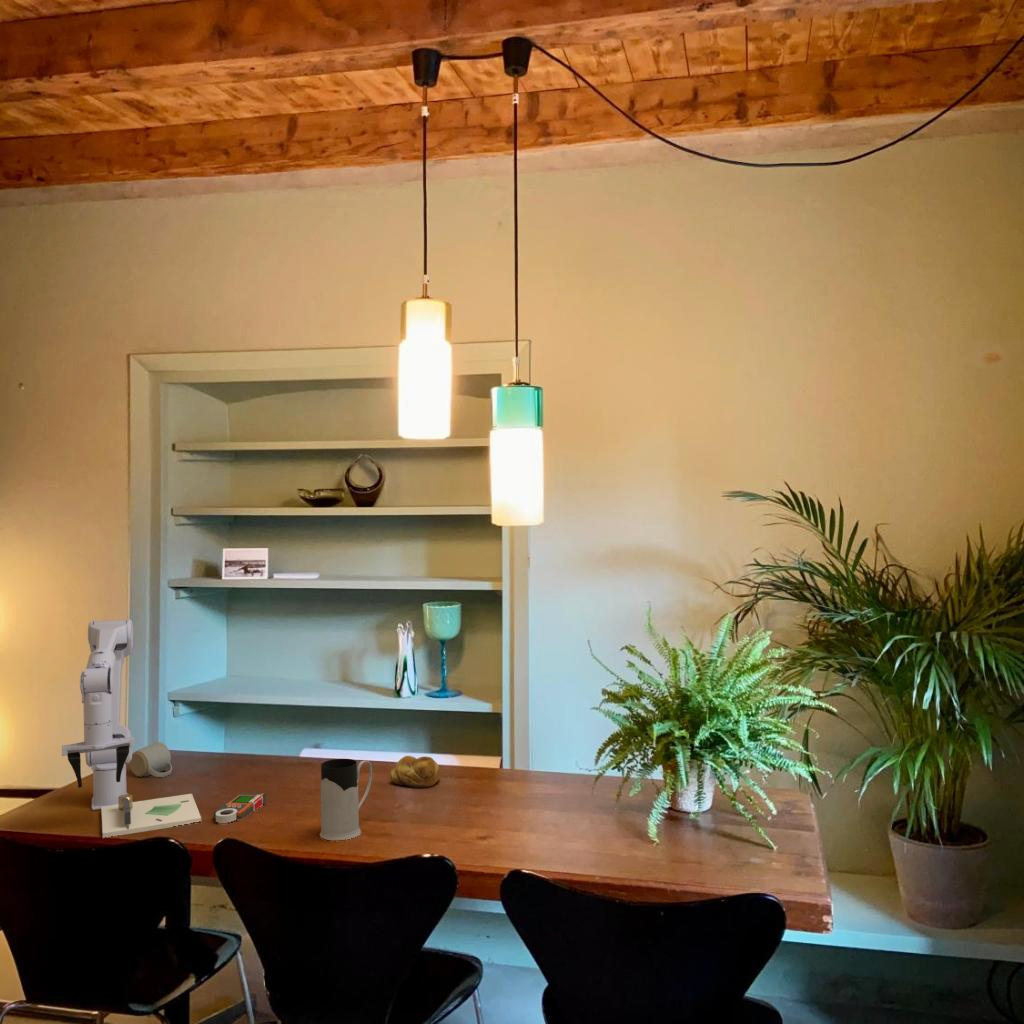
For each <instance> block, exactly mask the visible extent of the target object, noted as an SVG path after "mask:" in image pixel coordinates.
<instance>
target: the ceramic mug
mask: <svg viewBox="0 0 1024 1024" xmlns="http://www.w3.org/2000/svg"><path fill="white" fill-rule="evenodd" d="M171 761H172V755H171V751H170V749H169V748H168V746H167V745H166V744H165V743H163V742H161V741H159V742H154V743H152V744H149V745H146V746H145V747H141V748H139V749H137V750H136V751H134V752H132V759H131V761H130V762H129V763H128V764H129V768H130V771H131V772H132V774H134V775H135V776H136V777H138V776H139V777H138V778H143V776H144V777H148V776H150V775H151V776H153V777H155V778H158V777H163V778H165V777H164V776H167V775H169V776H170V775H171V774H172V772H173V766H172V764H171ZM166 770H168V771H166ZM163 771H165V772H163ZM167 777H168V776H167Z"/></svg>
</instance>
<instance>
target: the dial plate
mask: <svg viewBox="0 0 1024 1024" xmlns="http://www.w3.org/2000/svg"><path fill="white" fill-rule="evenodd" d="M100 810H101V831H102V832H101V834H102V839H104V838H105V837H106V838H112V837H111V836H113V837H118V835H119V836H123V835H131V834H137V833H144V832H149V831H150V832H151V831H155V830H161V829H162V830H163V829H169V828H174V827H173V826H176V827H179V826H178V825H182V826H185V825H184V824H188V825H191V824H190V823H193V822H199V821H201V822H202V815H201V813H200V811H199V809H198V806H197V803H196V801H195V798H194V796H193V793H188V794H187V793H185V794H180V795H172V796H167V797H166V796H165V797H157V798H152V799H146V800H145V799H144V800H139V801H133V808H132V809H130V812H131V824H128V825H125V823H124V815H123V811H120V810H118V804H117V805H110V806H103V807H101V809H100Z"/></svg>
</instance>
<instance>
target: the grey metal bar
mask: <svg viewBox="0 0 1024 1024" xmlns="http://www.w3.org/2000/svg"><path fill="white" fill-rule="evenodd" d="M133 798H134V797H133V794H130V793H128V794H125V795H121V796H119V797H118V810H120V811H123V815H124V823H125V825H128V824H131V812H130V809H132V808H133V802H134V801H133Z"/></svg>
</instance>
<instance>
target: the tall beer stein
mask: <svg viewBox="0 0 1024 1024" xmlns="http://www.w3.org/2000/svg"><path fill="white" fill-rule="evenodd" d="M364 763H367V765H368V771H369V773H368V774H369V775H368V781H367V785H366V787H365V792H364V794H363V796H362V798H361V799H360V801H359V785H358V783H359V781H360V771H361V767H362V766H363V764H364ZM320 773H321V774H320V778H321V779H320V818H321V820H320V821H321V822H320V825H321V827H320V828H321V829H320V833H319V835H320V836H321V837H322V838H324V839H327V840H345V839H346V841H348V840H347V839H350V840H352V839H351V838H354V839H356V838H358V837H359V836H360V835H362V830H361V829H360V820H359V819H360V818H359V813H360V812H359V811H360V808H361V807H362V805H363V804H364V801H366V798H367V797H368V794H369V793H370V792H369V791H370V789H371V785H372V780H373V779H372V778H373V765H372V763H371V762H370V761H369V760H362V761H360V762H359V763H358V761H356V760H355V759H351V758H334V759H329V760H326V761H324V762H322V763H321V764H320ZM357 836H358V837H357ZM355 837H356V838H355Z"/></svg>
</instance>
